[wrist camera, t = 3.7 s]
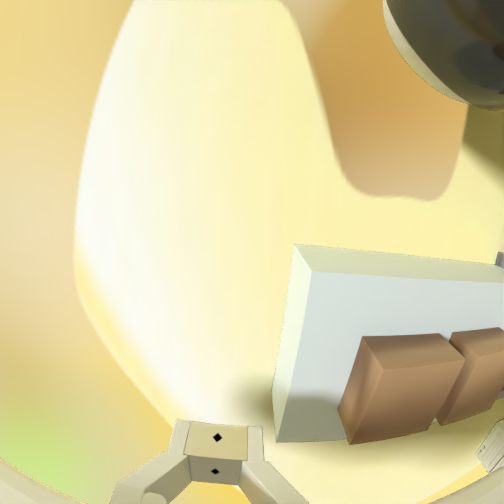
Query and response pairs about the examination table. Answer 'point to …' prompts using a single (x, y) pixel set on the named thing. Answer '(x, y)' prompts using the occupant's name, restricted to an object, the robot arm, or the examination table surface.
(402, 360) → the tile
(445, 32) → the pump dispenser
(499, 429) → the supplement box
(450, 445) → the examination table surface
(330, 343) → the pale grey flat block
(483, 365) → the tile
